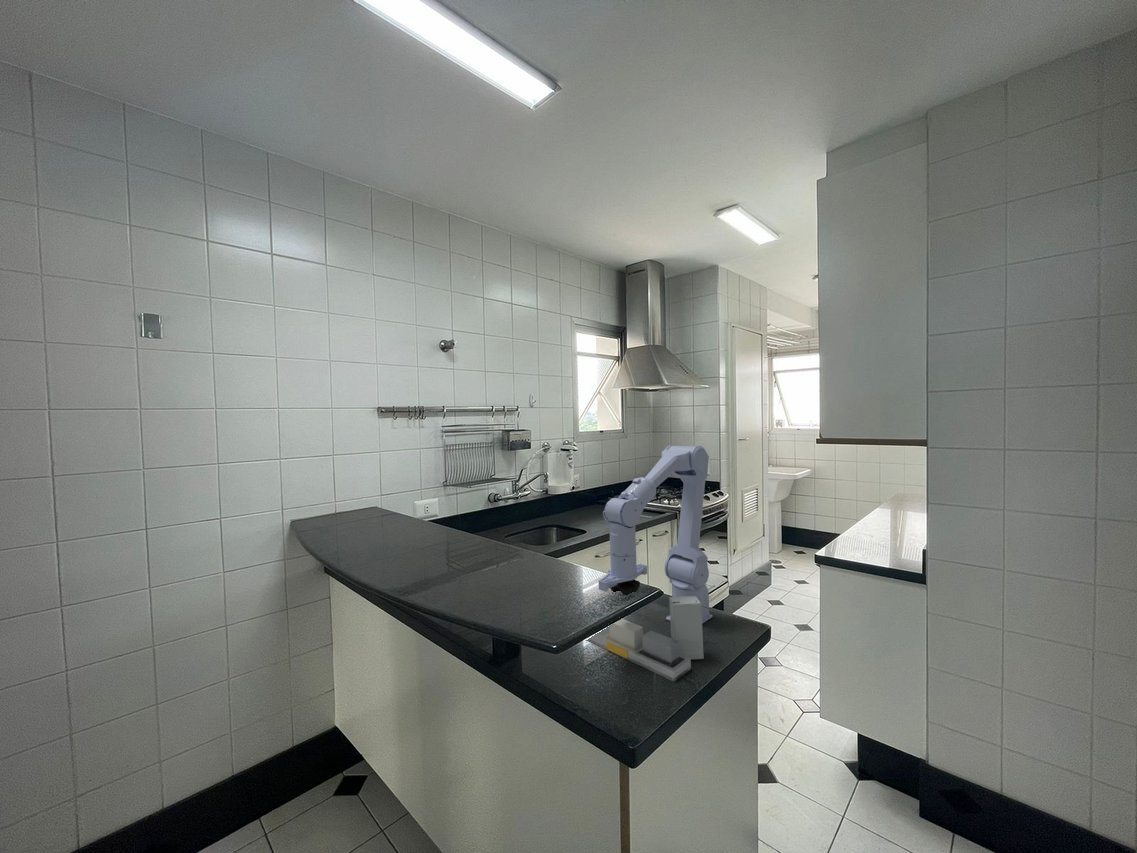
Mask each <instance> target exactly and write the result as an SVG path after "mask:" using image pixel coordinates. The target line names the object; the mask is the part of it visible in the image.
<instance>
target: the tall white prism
mask: <svg viewBox="0 0 1137 853" xmlns="http://www.w3.org/2000/svg"><path fill="white" fill-rule="evenodd" d="M643 628H644V627H643V626H641V625H639V624H636V623H634V622H632V621H628V620H626V619H624V618H621V620H619V621H617V622H615V623H613V624H612V625H610V640H611V641H613V642H615V643H618V644H620V645H622V646H624V647H626V648H629V649H631V650H633V651H636V650H638V649H639V648H641V647H643V641H642V635H644V632H643V630H644V629H643Z"/></svg>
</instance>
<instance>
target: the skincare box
mask: <svg viewBox="0 0 1137 853" xmlns="http://www.w3.org/2000/svg"><path fill="white" fill-rule="evenodd" d="M668 599H669V616H670V621H669V622H670V636H671V637H670V638H671V639H674V640H676V641H679V650H680V655H682V656H684V657H687V658H689V659H691V660H704V659H705V657H704V637H703V636H704V633H703V623H702V611H701V603H700V601H699V600H698V598H697V597H696V596H686V597H673V596H669V598H668Z"/></svg>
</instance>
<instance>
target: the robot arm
mask: <svg viewBox="0 0 1137 853" xmlns="http://www.w3.org/2000/svg"><path fill="white" fill-rule="evenodd" d="M660 456H661V457H660V459H659V460H658V461H657V463H656V464H655V465H654V466H653V467H652V469H650V471H649V472H648V473H647V475H646V476H645V477H639V476H638V477H637V478H636V477H635V478H634V479H633V480H632V483H631V484H630V485H629V486H628V487H627V488H626V489H625V490H623V491H622V492H621V493H620V495H619V496H617V497H613V498H611V499H609V501H607V503H606V504H605V506H604V510H603V511H602V515H603V519H604V520H605V521H606V524H607V529H608V532H609V552H610V555H609V556H610V568H609V569H608V572H607V574H606V575H605V576H603V578H601V579H599V580H598V590H600V591H602V592H608V591H609V589H610V590H611V592H612V591H613V592H616V591H621V592H622V593H623V595H628V594H630V593H632V592H636V591H637V592H638V590H639V588H640V587H641V582H640V581H639V580H636V579H638V578H639V577H640V576H642V575H648V565H646V564H642V563H640V564H638V563H637V542H636V541H637V540H636V538H637V537H636V525H638V524H639V523H640V520H641V516H642V513H643V512H644V508H645V507H646V506H647V505H648V504H649V503H650V502H651V501H652V500H653V499H654V498H655V497H656V495H657V487H659V486H660V485H661V484H662V483H663V482H664V481H666V479H668V478H669V477H670V476H671V475H672V474H674V475H675V476H676V477H678V478H679V479H680V481H681V482H683V483H682V484H683V487H682V494H681V504H680V505H681V506H680V514H679V525H678V533H677V535H678V536H677V543H676V544H675V545H674V546H672V547H670V549H668V555H667V558H666V560H665V562H664V573H665V577H667V578H668V579H669V584H672V585H671V588H672V589H671V590H672V597H686V596H696V597H697V598H698V600H699V601H700V603H701V611H702V624H704V623H706V622H707V621H708V620H710V619H711V618H713V614H710V596H709V595H710V592H709V589H708V586H707V585H706V584H707V582H708V580H709V577H710V571H709V566H708V564H709V563H708V559H709V558H708V556H707V555H706V553H704V551H703V550H702V549H701V548H700V546H699V545H700V539H701V538H700V537H701V528H702V527H701V526H702V520H703V519H702V518H703V517H702V516H703V509H704V505H703V504H704V498H705V496H704V495H705V487H706V480H707V479H708V469H709V463H710V462H709V459H710V456H709V454H708V452H707V450H706V449H705V448H704V447H703V446H702V445H674V444H670V445H669V444H668V445H667V446H666V447H665V448H664V450H662V451H661V455H660ZM613 592H612V593H613ZM637 592H636V593H637ZM702 606H703V607H702ZM704 607H707V608H709V609H707V608H704ZM631 614H632V612H631V613H630V614H629V615H627V616H626V617H628V616H630V615H631ZM665 619H666V620H667V621H669V622H671V621H670V615H667V616H666V617H665Z"/></svg>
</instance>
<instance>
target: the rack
mask: <svg viewBox="0 0 1137 853" xmlns="http://www.w3.org/2000/svg"><path fill="white" fill-rule="evenodd" d="M586 641H587V642H589V643H591V644H594V645H595V646H598V647H600V648H602V649H604V650H607V651H608V652H611V653H613V654H614V655H617V656H618V657H620V658H621V657H622V658H623V659H626V660H627V661H629V662H631V663H633V664H636V665H638V666H640V667H642V668H644V669H646V670H648V671H650V672H652V673H654V674H657V675H658V676H661V677H662V678H665V679H667V680H669V681H671V682H676V681H677V680H678V679H680V678H682V676H684V675H685V674H686V673H687V672H689V671H691V669H692V662H691V660H692V659H689V658H687V657H684V656H682V655H680V650H679V641H676V640H674V639H671V637H669V636H666V635H663V634H661V633H659V632H656V631H653V630H649V631H648V632H645V633H643V635H642V641H643V647H641V648H639V649H638V650H636V651H633V650H631V649H629V648H626V647H624V646H622V645H620V644H618V643H615V642H613V641H611V640H610V626H609V627H607V628H606V629H604V630H602V631H601V632H599V633H597V634H595V635H594V636H592V637H591V638H589V639H588V640H586Z"/></svg>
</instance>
